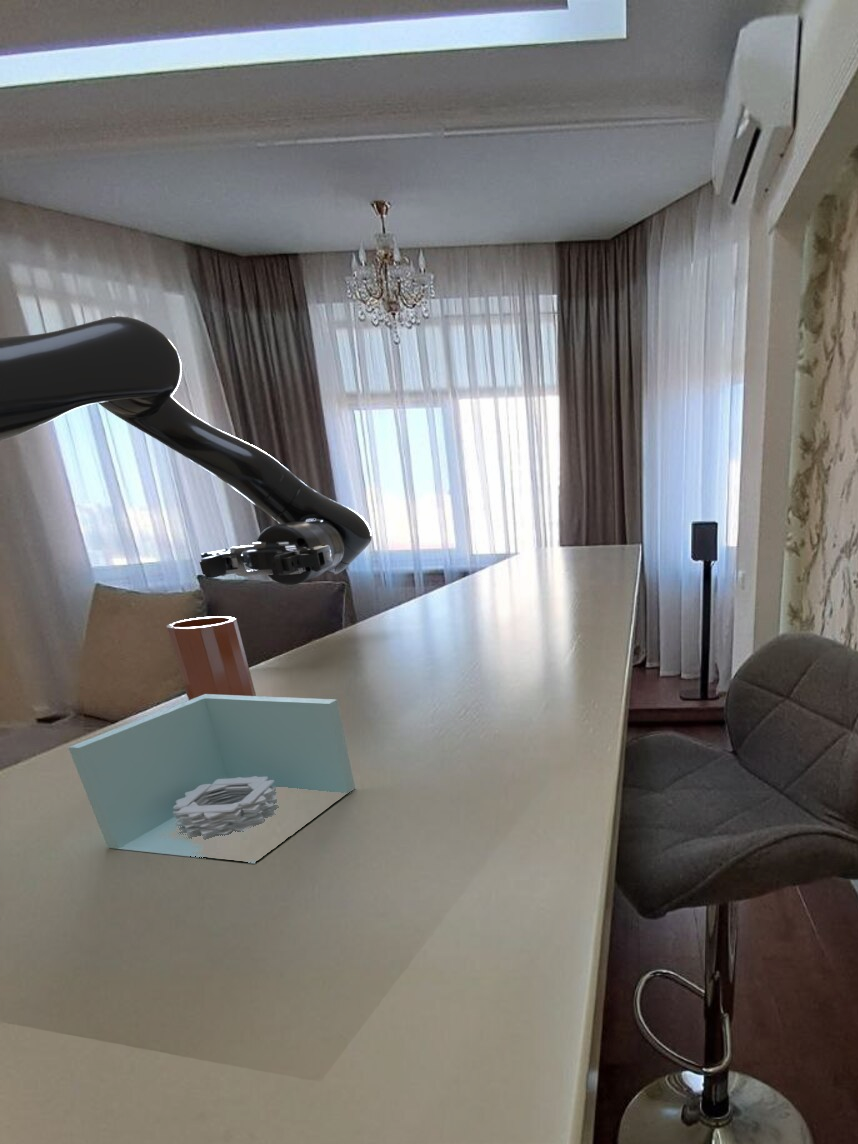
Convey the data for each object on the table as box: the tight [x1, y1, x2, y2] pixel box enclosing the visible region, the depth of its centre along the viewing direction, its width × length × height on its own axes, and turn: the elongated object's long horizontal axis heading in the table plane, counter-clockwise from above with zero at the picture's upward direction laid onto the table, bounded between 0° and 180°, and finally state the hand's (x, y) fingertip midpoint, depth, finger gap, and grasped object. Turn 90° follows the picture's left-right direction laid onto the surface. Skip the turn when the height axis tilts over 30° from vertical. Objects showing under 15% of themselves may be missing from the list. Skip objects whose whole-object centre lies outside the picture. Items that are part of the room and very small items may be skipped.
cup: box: [165, 616, 257, 701], centre depth 73 cm, size 6×6×10 cm
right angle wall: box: [67, 694, 356, 864], centre depth 50 cm, size 12×12×8 cm
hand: (242, 567), depth 79 cm, fingers open, 8 cm apart
